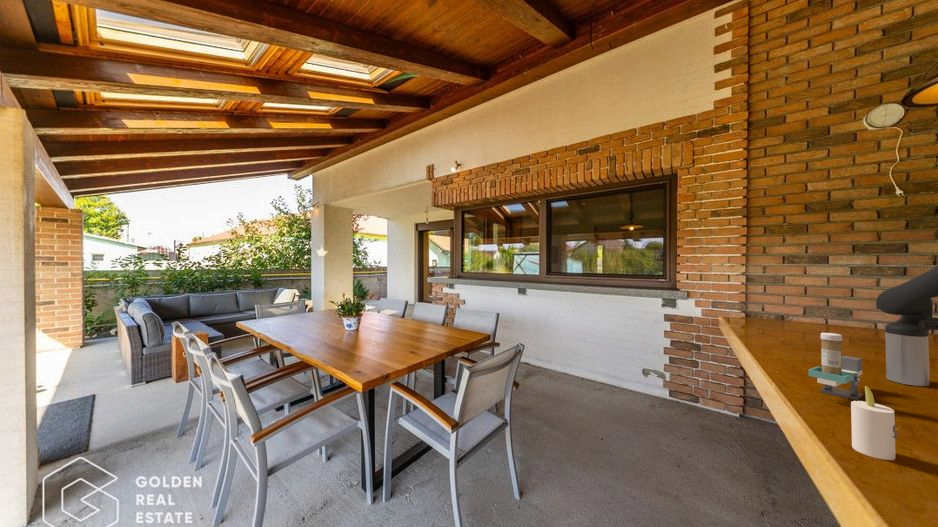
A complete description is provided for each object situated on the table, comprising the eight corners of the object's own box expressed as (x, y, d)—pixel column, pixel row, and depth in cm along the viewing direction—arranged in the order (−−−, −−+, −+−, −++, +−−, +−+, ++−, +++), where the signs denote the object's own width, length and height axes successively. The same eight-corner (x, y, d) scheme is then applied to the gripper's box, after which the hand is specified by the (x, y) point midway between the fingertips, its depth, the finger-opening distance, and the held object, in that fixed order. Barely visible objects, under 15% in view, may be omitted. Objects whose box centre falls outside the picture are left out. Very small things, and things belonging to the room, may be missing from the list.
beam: (836, 370, 117) (836, 354, 117) (871, 376, 110) (871, 359, 110) (808, 381, 104) (808, 363, 105) (845, 389, 97) (845, 370, 97)
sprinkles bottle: (843, 377, 102) (843, 334, 102) (841, 379, 100) (841, 335, 100) (822, 373, 106) (822, 331, 106) (819, 375, 103) (819, 333, 104)
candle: (892, 463, 71) (891, 394, 71) (847, 448, 76) (846, 385, 76) (900, 455, 73) (899, 389, 74) (856, 441, 79) (855, 380, 79)
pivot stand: (826, 388, 112) (826, 366, 112) (862, 396, 105) (862, 373, 105) (820, 391, 109) (819, 369, 109) (856, 400, 102) (856, 376, 102)
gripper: (1039, 315, 81) (928, 306, 96) (1035, 321, 75) (916, 311, 89) (1039, 344, 81) (928, 332, 96) (1034, 354, 75) (916, 338, 89)
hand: (922, 322), depth 92 cm, fingers open, 8 cm apart
